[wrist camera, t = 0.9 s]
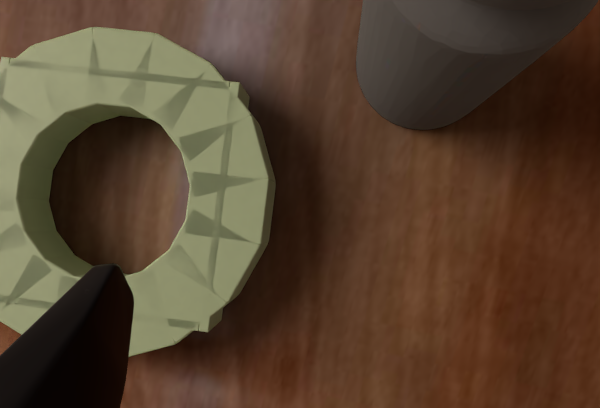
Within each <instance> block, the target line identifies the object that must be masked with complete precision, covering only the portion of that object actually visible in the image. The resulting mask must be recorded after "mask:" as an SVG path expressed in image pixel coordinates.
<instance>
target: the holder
mask: <svg viewBox="0 0 600 408" xmlns="http://www.w3.org/2000/svg"><path fill="white" fill-rule="evenodd" d="M249 99H250V97H249V95H248V94H247V93H246V91H245V90H244V88H243V87H242V85H241V84H240V83H239V82H230V81H225V79H224V78H223V77H222V76H221V74H220V73H219V72H218V71H217V69H216V68H215V67H214V65H212V64H211V63H210V62H208V61H206V60H205V59H203V58H201V57H199V56H197V55H196V54H194V53H192V52H190V51H188V50H186V49H185V48H183V47H181V46H179V45H177V44H176V43H174V42H172V41H170V40H168V39H167V38H165V37H163V36H161V35H159V34H157V33H156V34H155V33H151V32H141V31H131V30H122V29H112V28H102V27H90V28H87V29H84V30H80V31H77V32H74V33H71V34H67V35H64V36H61V37H57V38H54V39H51V40H48V41H44V42H41V43H38V44H34V45H33V46H30V47H29V48H28V49H27V50H25V51H24V52H23V53H22V54H20V55H19V56H18V57H17V58H7V57H1V63H0V322H2V323H4V324H5V325H7V326H9V327H10V328H12V329H14V330H15V331H17V332H18V333H20V334H23V333H24V332H25V331H26V330H27V329H28V328H29V327H31V326H32V325H33V324H34V323H35V322H36V321H37V320H38V319H39V318H40V317H41V316H42V315H43V314H44V313H45V312H46V311H47V310H48V309H49V308H50V307H51V306H52V305H53V304H54V303H56V302H57V301H58V300H59V299H60V298H61V297H62V296H63V295H64V294H65V293H66V292H67V291H68V290H69V289H70V288H71V287H72V286H73V285H74V284H75V283H76V282H77V281H78V280H79V279H81V278H82V277H83V276H84V275H85V274H86V273H87V272H88V271H89V270H90V269H91V268H92V267H94V266H92V265H90V264H89V263H87V262H85V261H84V260H82V259H80V258H79V257H77V256H75V255H74V253H73V252H72V251H71V249H70V248H69V247H68V245H67V244H66V243H65V241H64V240H63V239H62V237H61V236H60V235H59V233H58V232H57V231H56V227H55V223H54V219H53V215H52V211H51V207H50V203H49V197H50V190H51V182H52V175H53V169H54V168H55V166H56V164H57V162H58V161H59V159H60V157H61V155H62V153H63V152H64V150H65V148H66V146H67V145H68V143H69V142H70V141H72V140H73V139H74V138H75V137H77V136H78V135H79V134H80V133H82V132H83V131H84V130H85V129H87V128H88V127H89V126H90V125H92V124H94V123H97V122H101V121H104V120H108V119H111V118H115V117H118V116H128V117H137V118H146V119H151V120H153V121H155V122H157V123H158V124H160V125H161V126H162V127H163V129H164V130H165V131H166V133H167V134H168V135H169V136H170V138H171V139H172V140H173V142H174V143H175V144H176V146H177V147H178V148H179V150H180V151H181V153H182V157H183V161H184V164H185V168H186V172H187V176H188V179H189V183H190V189H189V196H188V204H187V212H186V220H185V222H184V223H183V225H182V227H181V229H180V230H179V232H178V234H177V236H176V238H175V239H174V241H173V243H172V245H171V246H170V248H169V250H168V251H167V252H165V253H164V254H163V255H162V256H160V257H159V258H158V259H156V260H155V261H154V262H153V263H151V264H150V265H149V266H148V267H146V268H145V269H144V270H142V271H141V272H137V273H133V274H124V273H123V274H124V276H125V278H126V280H127V282H128V284H129V286H130V288H131V291H132V293H133V297H134V312H133V321H132V330H131V339H130V348H129V357H130V356H134V355H138V354H142V353H145V352H149V351H153V350H157V349H160V348H164V347H168V346H171V345H175V344H176V343H178V342H180V341H181V340H182V339H184V338H185V337H186V336H187V335H189V334H190V333H191V332H193V331H201V332H209V331H210V330H211V329H212V328H213V327H215V326H216V325H217V324H218V323H219V322H220V321H221V320H222V313H223V307H225V306H226V305H227V304H228V303H230V302H231V301H232V300H234V299H235V298H236V297H237V296H238V295H239V294H240V293H241V291H242V289H243V287H244V286H245V284H246V282H247V280H248V278H249V277H250V275H251V273H252V271H253V270H254V268H255V266H256V264H257V263H258V261H259V259H260V257H261V255H262V254H263V252H264V250H265V248H266V247H267V245H268V242H269V237H270V229H271V221H272V213H273V205H274V197H275V189H276V180H275V177H274V173H273V169H272V166H271V162H270V159H269V155H268V151H267V148H266V144H265V140H264V137H263V133H262V129H261V127H260V124H259V123H258V122H257V120H256V119H255V118H254V117H253V115H252V114H251V113H250V111H249V110H248V107H249Z"/></svg>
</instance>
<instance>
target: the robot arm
mask: <svg viewBox="0 0 600 408" xmlns="http://www.w3.org/2000/svg"><path fill="white" fill-rule="evenodd" d="M133 312H134V297H133V293H132V291H131V288H130V286H129V284H128V282H127V280H126V278H125V276H124V274H123V271H122V269H121V268H120V266H119V265H117V264H114V263H112V264H102V265H96V266H94V267H92V268H91V269H90V270H89V271H88V272H87V273H86V274H85V275H84V276H83V277H82V278H81V279H79V280H78V281H77V282H76V283H75V284H74V285H73V286H72V287H71V288H70V289H69V290H68V291H67V292H66V293H65V294H64V295H63V296H62V297H61V298H60V299H59V300H58V301H57V302H56V303H54V304H53V305H52V306H51V307H50V308H49V309H48V310H47V311H46V312H45V313H44V314H43V315H42V316H41V317H40V318H39V319H38V320H37V321H36V322H35V323H34V324H33V325H32V326H31V327H29V328H28V329H27V330H26V331H25V332H24V333H23V334H22V335H21V336H20V337H19V338H18V339H17V340H16V341H15V342H14V343H13V344H12V345H11V346H10V347H9V348H8V349H7V350H6V351H4V352H3V353H2V354H1V355H0V408H120V404H121V400H122V396H123V391H124V386H125V381H126V374H127V366H128V357H129V348H130V339H131V330H132V321H133Z"/></svg>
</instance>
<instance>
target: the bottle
mask: <svg viewBox="0 0 600 408" xmlns="http://www.w3.org/2000/svg"><path fill="white" fill-rule="evenodd" d="M597 2H598V0H363V6H362V14H361V22H360V29H359V37H358V46H357V57H356V68H357V77H358V82H359V84H360V87H361V90H362V92H363V94H364V96H365V98H366V99H367V101H368V102H369V104H370V105H371V106H372V107H373V108H374V109H375V110H376V111H377V112H378V113H379V114H380V115H381V116H382V117H384V118H385V119H387V120H388V121H390V122H392V123H394V124H396V125H399V126H402V127H405V128H410V129H418V130H429V129H436V128H440V127H444V126H447V125H450V124H452V123H454V122H456V121H457V120H459V119H461V118H462V117H464V116H465V115H467V114H468V113H470V112H471V111H472V110H474V109H475V108H476V107H478V106H479V105H480V104H481V103H483V102H484V101H485V100H486V99H488V98H489V97H490V96H491V95H493V94H494V93H495V92H497V91H498V90H499V89H500V88H502V87H503V86H504V85H505V84H507V83H508V82H509V81H510V80H512V79H513V78H514V77H516V76H517V75H518V74H519V73H521V72H522V71H523V70H524V69H526V68H527V67H528V66H529V65H531V64H532V63H533V62H534V61H536V60H537V59H538V58H539V57H541V56H542V55H543V54H544V53H545V52H547V51H548V50H549V49H550V48H551V47H553V46H554V45H555V44H556V43H557V42H559V41H560V40H561V39H562V38H564V37H565V36H566V35H567V34H568V33H570V32H571V31H572V30H573V29H574V28H575V27H576V26H577V25H578V24H579V23H580V22H581V21H582V20H583V19H584V18H585V17H586V16H587V15H588V13H589V12H590V11H591V10H592V8H593V7H594V6H595V5H596V3H597Z"/></svg>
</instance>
